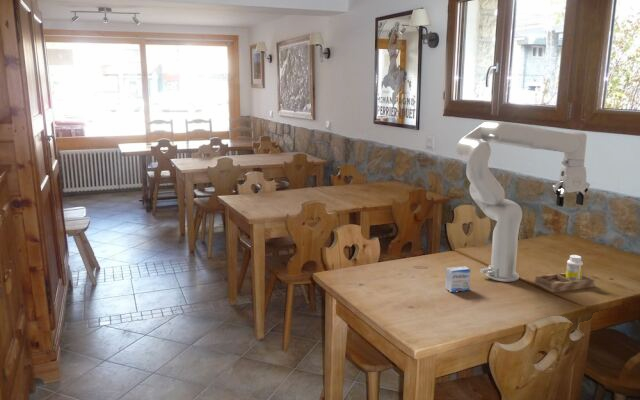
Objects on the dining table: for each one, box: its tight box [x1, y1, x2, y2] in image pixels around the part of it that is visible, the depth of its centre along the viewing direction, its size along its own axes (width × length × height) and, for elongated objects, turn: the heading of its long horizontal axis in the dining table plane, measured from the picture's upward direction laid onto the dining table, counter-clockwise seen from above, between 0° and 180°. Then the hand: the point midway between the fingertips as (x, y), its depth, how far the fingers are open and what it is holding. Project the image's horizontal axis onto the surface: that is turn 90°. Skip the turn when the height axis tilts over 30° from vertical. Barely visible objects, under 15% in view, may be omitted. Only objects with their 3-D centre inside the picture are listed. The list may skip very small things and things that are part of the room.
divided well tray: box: [534, 272, 595, 293], centre depth 198 cm, size 19×10×3 cm, turn 106°
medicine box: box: [445, 265, 471, 293], centre depth 194 cm, size 8×4×9 cm, turn 106°
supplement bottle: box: [565, 254, 584, 281], centre depth 199 cm, size 6×6×10 cm
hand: (569, 205), depth 208 cm, fingers open, 9 cm apart
